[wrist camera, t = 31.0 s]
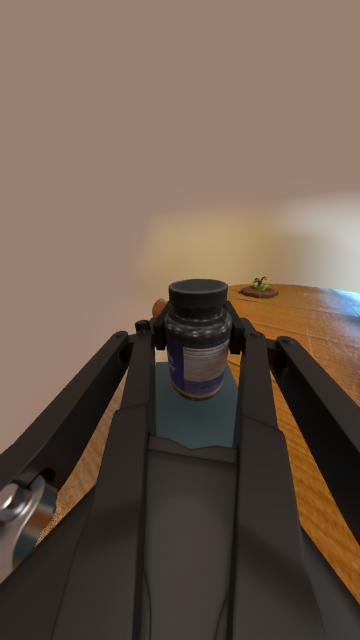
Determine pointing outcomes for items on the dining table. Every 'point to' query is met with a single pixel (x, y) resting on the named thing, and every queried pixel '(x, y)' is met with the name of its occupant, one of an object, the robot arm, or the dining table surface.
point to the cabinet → (195, 413)
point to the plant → (259, 290)
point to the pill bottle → (197, 337)
